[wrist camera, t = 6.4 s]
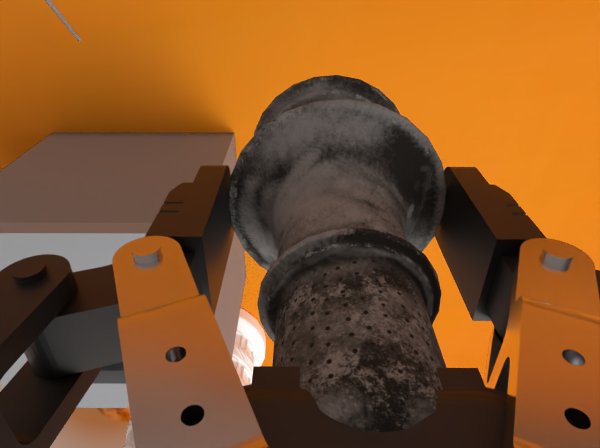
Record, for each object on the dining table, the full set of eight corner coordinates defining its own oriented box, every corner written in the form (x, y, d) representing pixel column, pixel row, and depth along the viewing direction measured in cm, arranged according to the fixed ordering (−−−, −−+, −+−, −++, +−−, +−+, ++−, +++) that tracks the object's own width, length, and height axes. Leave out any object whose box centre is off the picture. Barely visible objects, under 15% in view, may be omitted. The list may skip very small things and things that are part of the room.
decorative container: (242, 287, 42) (209, 481, 26) (280, 364, 48) (271, 559, 32) (134, 313, 44) (45, 508, 28) (184, 384, 49) (132, 577, 34)
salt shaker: (226, 203, 16) (86, 660, 6) (269, 37, 13) (137, 386, 3) (375, 244, 17) (484, 700, 7) (449, 99, 14) (860, 531, 4)
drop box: (52, 132, 33) (-85, 233, 22) (234, 133, 33) (197, 233, 22) (97, 275, 41) (14, 407, 29) (246, 275, 41) (223, 408, 29)
